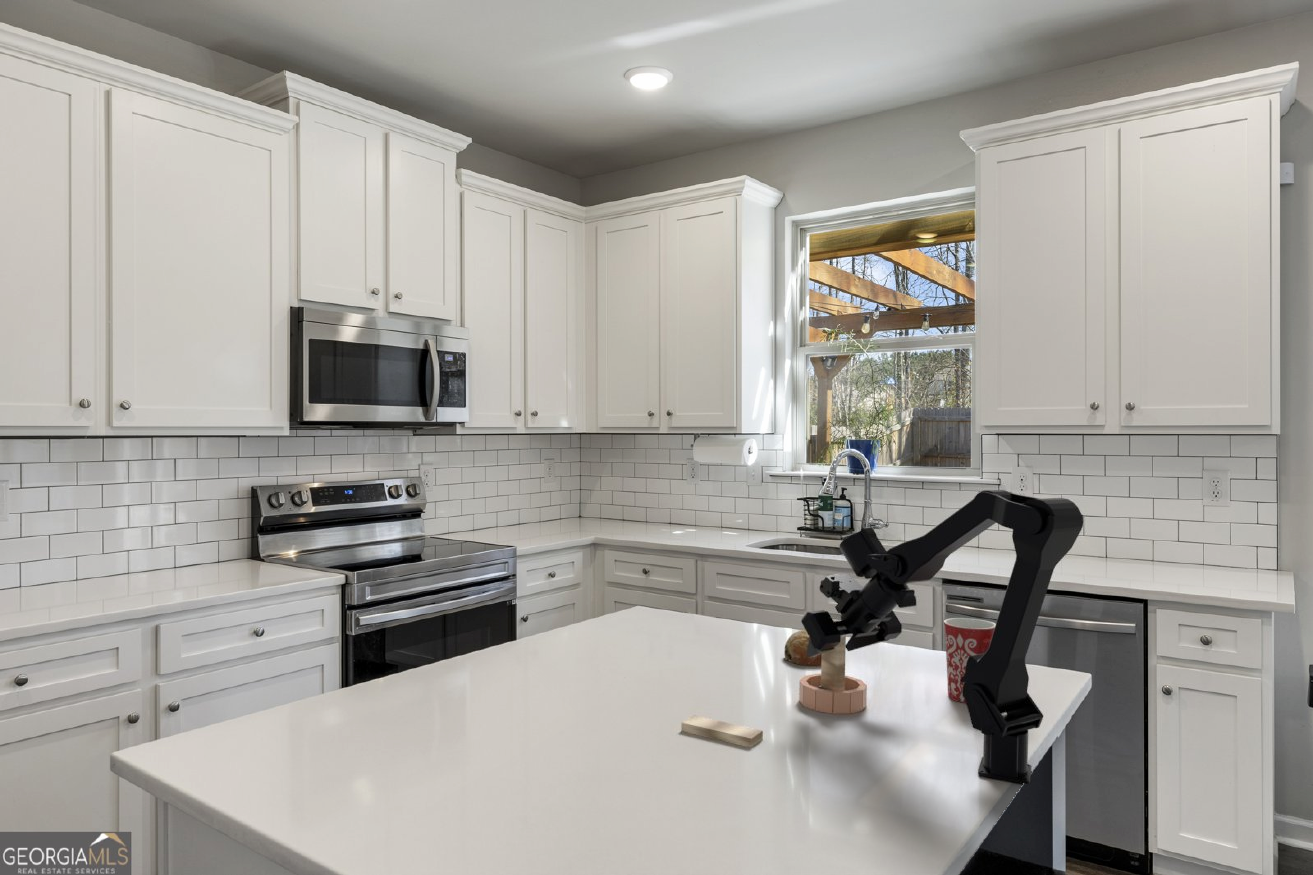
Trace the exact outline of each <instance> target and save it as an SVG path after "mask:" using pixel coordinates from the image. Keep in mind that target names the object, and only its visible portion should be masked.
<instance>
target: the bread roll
mask: <svg viewBox="0 0 1313 875" xmlns="http://www.w3.org/2000/svg"><path fill="white" fill-rule="evenodd" d="M809 639H810V637H809V635H808V633H807V631H806V629H801V630H798V631H795V632H794V633H792V634H791V635H790V636H789V637H788V638H787V641H786V643H785V645H784V654H783V655H784V660H785V661H787V662H789V663H792V664H796V665H799V666H805V667H820V666H821V662H822V654H819V655H816V656H814V657H810V658H809V657H808V656H807V654H806V651H807V647H808V643H809Z"/></svg>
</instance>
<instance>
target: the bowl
mask: <svg viewBox="0 0 1313 875" xmlns="http://www.w3.org/2000/svg"><path fill="white" fill-rule="evenodd" d="M798 683H799V688H798V689H799V690H798V692H799V693H798V695H799V696H798V698H799V699H798V700H799V702H800V703H801V705H802V706H803V707H805V708H807V709H810V710H812V711H815V712H820V713H821V712H822V713H827V714H834V715H838V714H839V715H840V714H841V715H842V714H843V715H844V714H849V715H851V714H854V713H859V712H862V711H864V710H865V708H866V707H867V701H868V700H867V699H868V698H867V694H868V692H867V691H868V686H867V684H866V683H865V682H864V681H863V680H862V679H859V678H857V677H853V676H850V675H845V690H846V691H832V690H825V689H819V688H818V686H821V673H813V674H808V675H804V676H803V677H801V678H800V679H799V682H798Z"/></svg>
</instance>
